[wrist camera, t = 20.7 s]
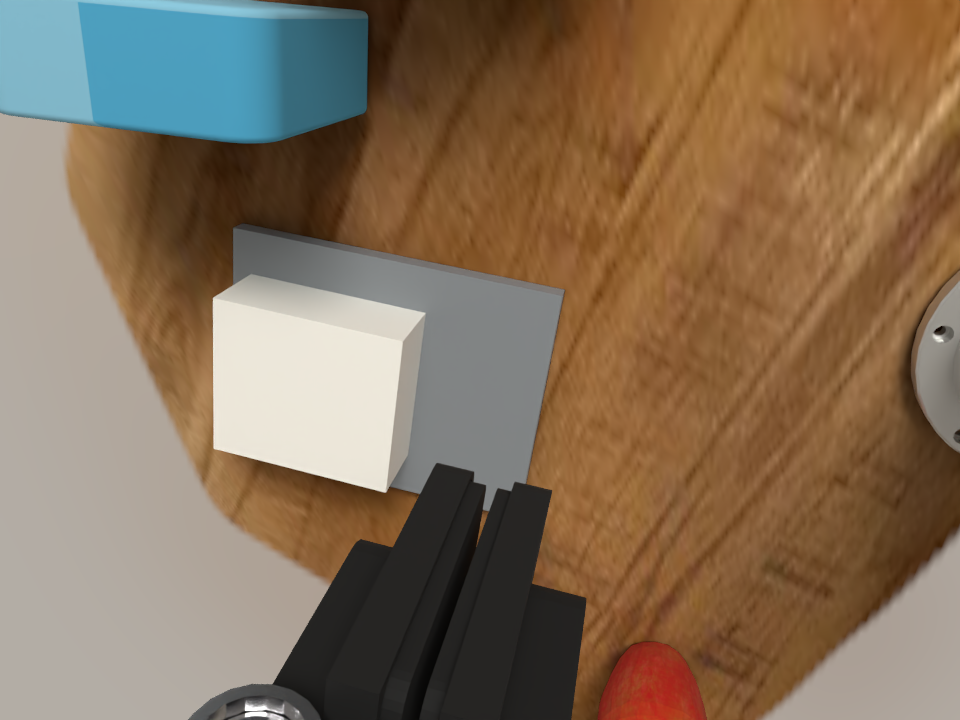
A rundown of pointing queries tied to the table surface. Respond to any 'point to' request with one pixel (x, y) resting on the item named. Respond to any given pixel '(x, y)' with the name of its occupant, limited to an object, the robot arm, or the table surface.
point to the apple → (651, 686)
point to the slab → (315, 380)
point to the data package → (184, 66)
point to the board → (440, 348)
